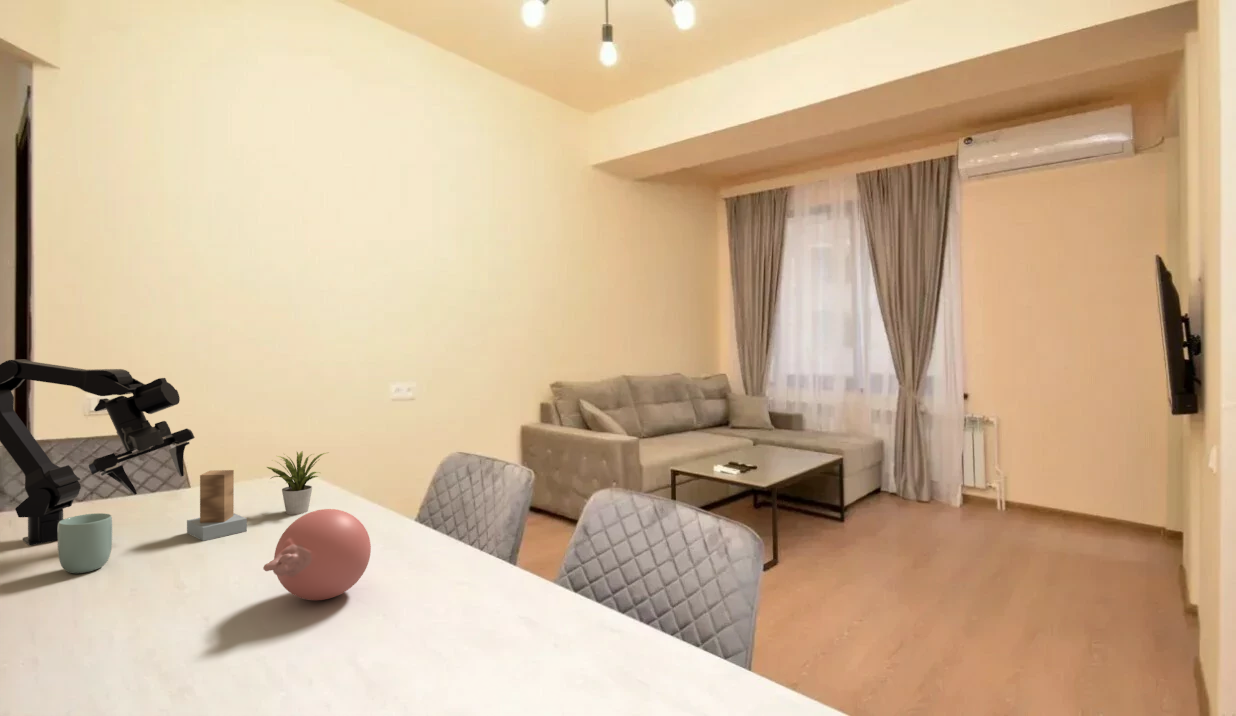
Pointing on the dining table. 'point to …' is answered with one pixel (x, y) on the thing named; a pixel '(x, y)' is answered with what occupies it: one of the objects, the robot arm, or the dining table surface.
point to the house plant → (296, 484)
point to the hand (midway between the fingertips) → (159, 485)
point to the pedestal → (216, 528)
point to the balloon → (321, 554)
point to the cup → (84, 542)
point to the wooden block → (216, 496)
